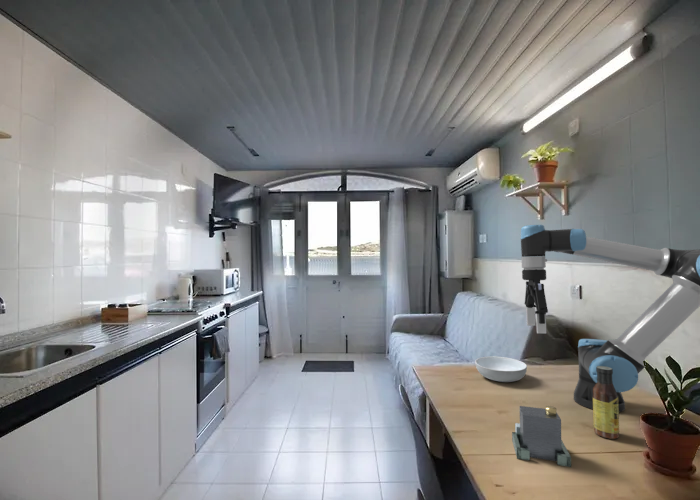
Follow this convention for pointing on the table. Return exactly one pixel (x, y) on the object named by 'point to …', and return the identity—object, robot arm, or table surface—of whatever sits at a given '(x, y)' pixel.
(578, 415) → the table surface
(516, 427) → the light grey rectangular block
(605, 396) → the sauce bottle
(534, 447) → the grey box with knob
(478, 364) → the serving bowl
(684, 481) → the table surface
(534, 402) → the table surface
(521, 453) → the socket
